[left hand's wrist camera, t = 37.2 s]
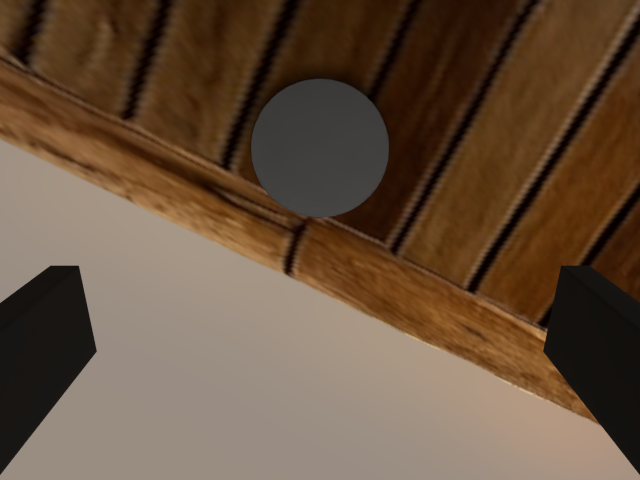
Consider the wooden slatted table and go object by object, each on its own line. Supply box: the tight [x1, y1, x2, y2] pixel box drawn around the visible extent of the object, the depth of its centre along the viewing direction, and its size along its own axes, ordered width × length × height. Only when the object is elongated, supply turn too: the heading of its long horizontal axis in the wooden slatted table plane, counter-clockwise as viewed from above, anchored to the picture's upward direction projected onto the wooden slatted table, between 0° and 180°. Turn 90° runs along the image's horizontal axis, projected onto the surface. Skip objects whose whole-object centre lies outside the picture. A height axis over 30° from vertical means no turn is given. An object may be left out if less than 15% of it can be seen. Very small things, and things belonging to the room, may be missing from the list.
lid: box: [251, 77, 389, 217], centre depth 37 cm, size 11×11×2 cm
